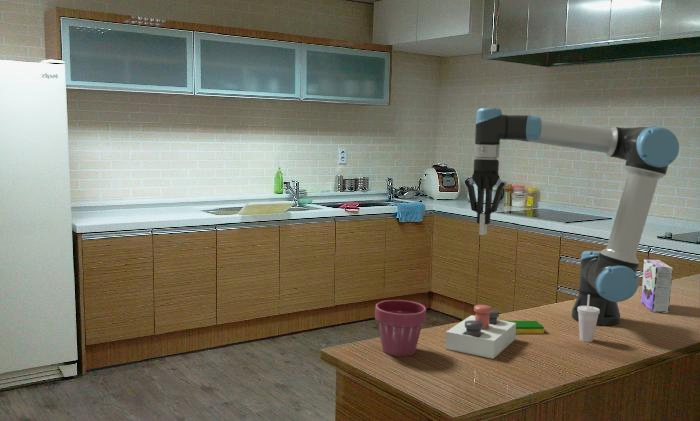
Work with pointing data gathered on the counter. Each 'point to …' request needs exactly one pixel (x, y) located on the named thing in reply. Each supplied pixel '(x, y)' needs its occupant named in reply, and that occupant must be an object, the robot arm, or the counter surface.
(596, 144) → the robot arm
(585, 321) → the smoothie
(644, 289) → the candy box
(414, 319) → the plant pot
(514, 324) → the mount
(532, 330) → the dish sponge
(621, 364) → the counter surface
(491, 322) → the knob
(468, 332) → the knob
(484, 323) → the pink round knob
